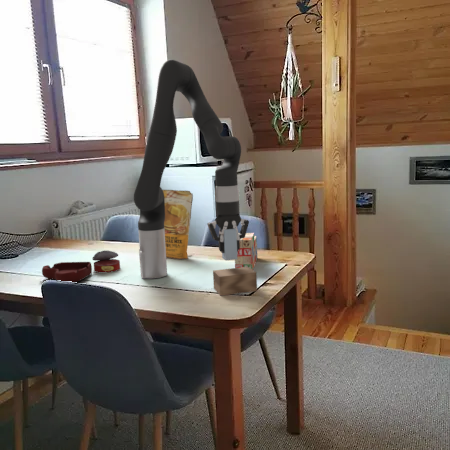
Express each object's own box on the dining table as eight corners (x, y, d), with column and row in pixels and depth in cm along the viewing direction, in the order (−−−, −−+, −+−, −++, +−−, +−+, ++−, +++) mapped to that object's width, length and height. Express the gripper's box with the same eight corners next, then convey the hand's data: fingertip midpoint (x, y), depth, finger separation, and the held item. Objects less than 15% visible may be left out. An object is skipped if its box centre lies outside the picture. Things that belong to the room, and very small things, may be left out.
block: (225, 260, 158) (224, 229, 156) (222, 257, 162) (220, 228, 160) (237, 259, 159) (236, 228, 157) (233, 256, 163) (232, 226, 161)
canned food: (95, 283, 187) (81, 261, 187) (110, 274, 197) (96, 252, 196) (116, 272, 183) (102, 249, 182) (130, 262, 192) (116, 241, 191)
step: (220, 295, 152) (219, 276, 151) (213, 288, 159) (213, 270, 158) (257, 290, 155) (256, 272, 154) (248, 284, 162) (248, 266, 161)
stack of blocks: (242, 258, 199) (241, 228, 197) (257, 258, 198) (256, 228, 196) (235, 272, 178) (233, 239, 176) (252, 272, 177) (251, 239, 175)
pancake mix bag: (162, 252, 215) (158, 188, 210) (197, 256, 204) (193, 189, 199) (151, 255, 209) (147, 190, 204) (187, 260, 199) (183, 191, 194)
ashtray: (104, 278, 178) (103, 265, 177) (62, 289, 167) (60, 274, 166) (80, 270, 190) (79, 258, 190) (39, 280, 179) (37, 266, 178)
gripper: (208, 202, 152) (211, 256, 155) (252, 199, 156) (254, 252, 159) (202, 200, 159) (205, 251, 162) (244, 196, 163) (246, 247, 166)
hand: (229, 251), depth 160 cm, fingers closed on block, 4 cm apart
